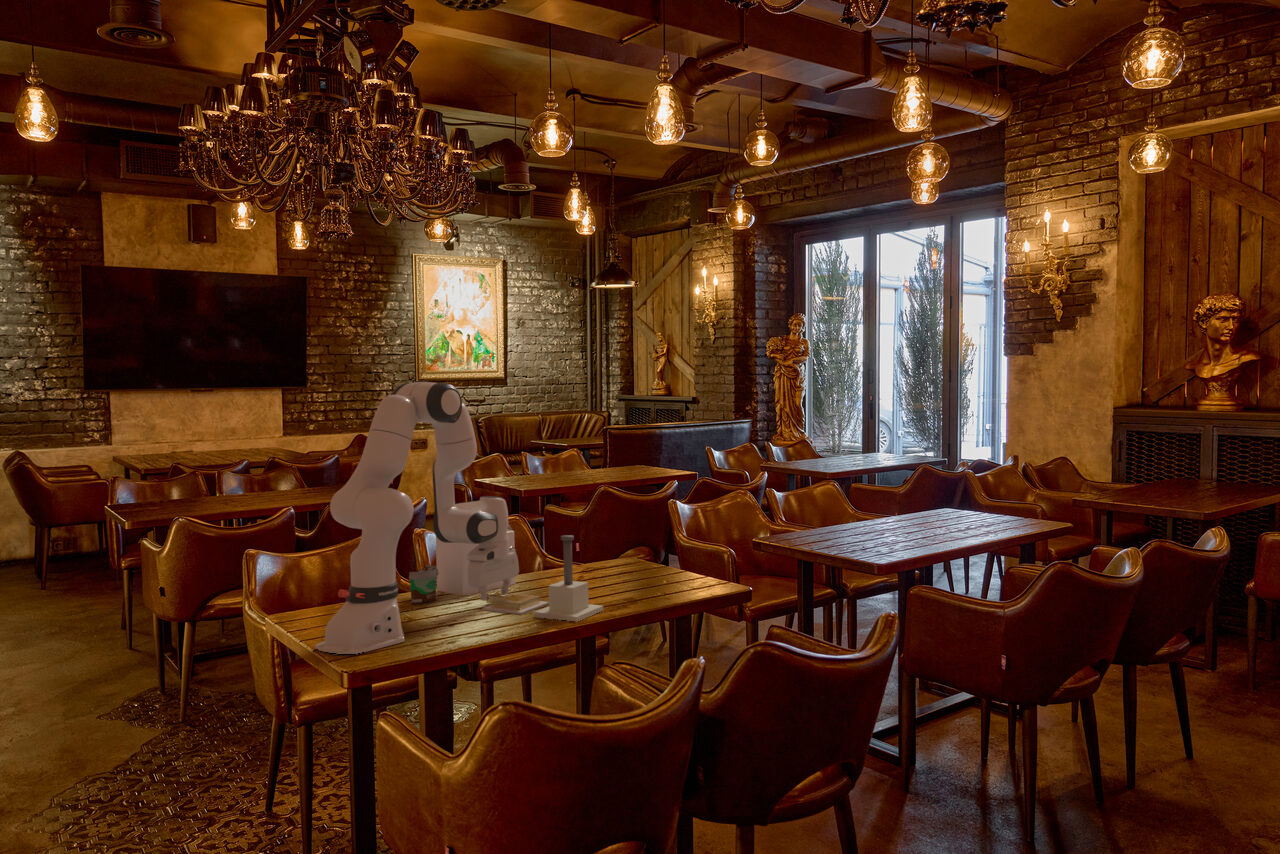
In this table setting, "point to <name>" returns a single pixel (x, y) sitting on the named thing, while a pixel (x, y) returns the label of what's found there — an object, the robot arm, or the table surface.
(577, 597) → the stand
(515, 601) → the ring
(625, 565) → the table surface
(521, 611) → the mat
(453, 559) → the gable box
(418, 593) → the food container
